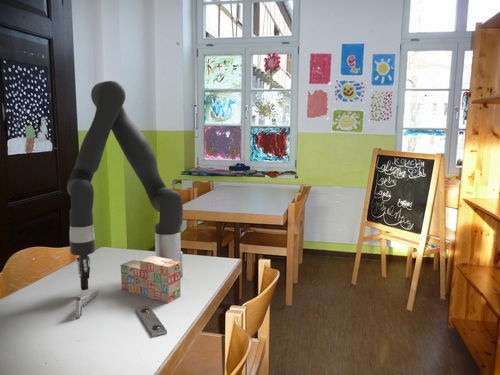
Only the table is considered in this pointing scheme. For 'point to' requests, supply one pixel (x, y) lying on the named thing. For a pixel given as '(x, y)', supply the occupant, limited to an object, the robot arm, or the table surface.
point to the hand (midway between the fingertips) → (84, 289)
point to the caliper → (84, 302)
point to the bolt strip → (151, 321)
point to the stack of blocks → (152, 278)
